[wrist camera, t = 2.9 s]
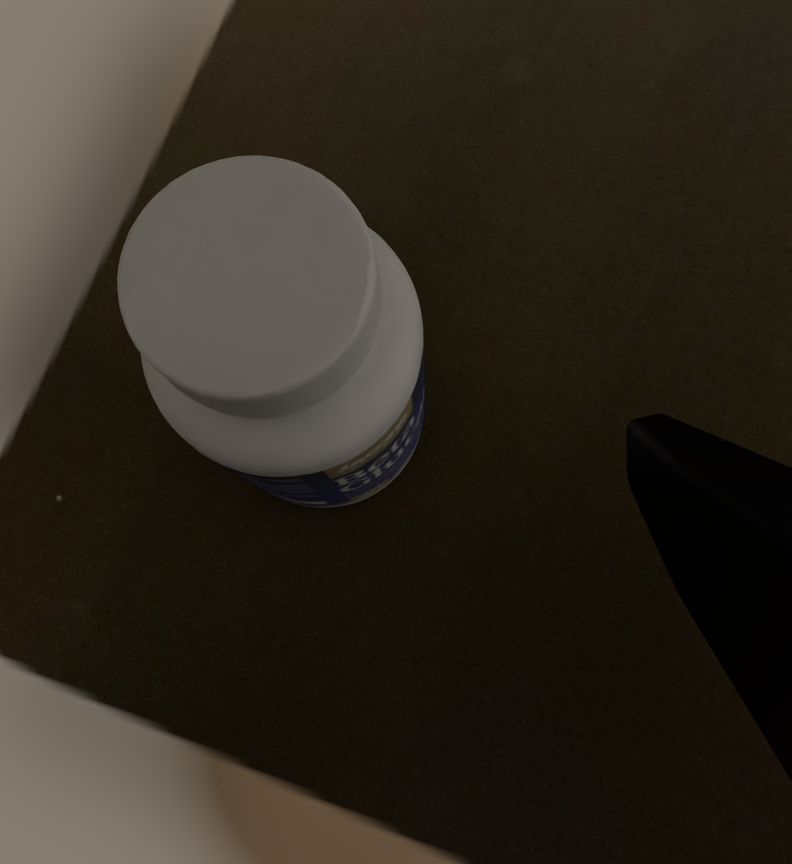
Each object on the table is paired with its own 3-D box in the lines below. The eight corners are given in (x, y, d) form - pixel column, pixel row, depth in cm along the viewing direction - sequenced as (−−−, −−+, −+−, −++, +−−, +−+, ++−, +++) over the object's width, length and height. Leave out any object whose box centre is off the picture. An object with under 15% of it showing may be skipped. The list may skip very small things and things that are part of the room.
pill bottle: (380, 540, 20) (334, 507, 10) (201, 466, 21) (3, 370, 11) (454, 361, 21) (475, 177, 11) (281, 295, 21) (161, 67, 12)
